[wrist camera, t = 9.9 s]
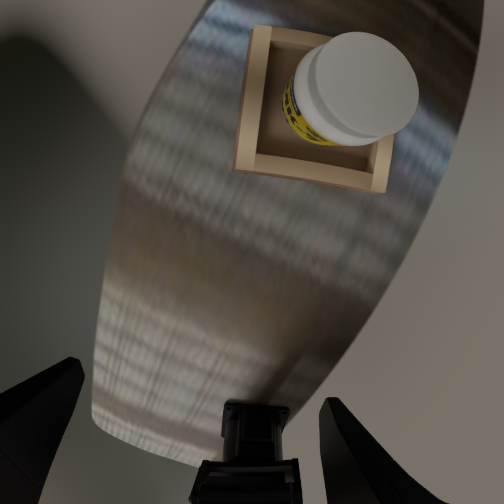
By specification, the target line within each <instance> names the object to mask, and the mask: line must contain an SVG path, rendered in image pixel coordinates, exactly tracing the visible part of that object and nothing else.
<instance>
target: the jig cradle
mask: <svg viewBox="0 0 504 504" xmlns="http://www.w3.org/2000/svg"><path fill="white" fill-rule="evenodd" d="M333 38H334V37H330V36H325V35H321V34H316V33H311V32H306V31H300V30H294V29H288V28H281V27H273V26H264V25H255V26H254V30H252V29H251V31H250V38H249V44H248V51H247V58H246V65H245V72H244V79H243V86H242V93H241V101H240V108H239V116H238V124H237V132H236V140H235V149H234V157H233V166H232V172H239V173H248V174H256V175H264V176H272V177H279V178H286V179H293V180H300V181H306V182H313V183H319V184H324V185H330V186H336V187H341V188H347V189H352V190H357V191H362V192H367V193H372V194H377V195H379V192H380V193H385V191H386V186H387V180H388V174H389V168H390V162H391V156H392V149H393V142H394V134H395V133H394V134H391V135H388V136H384V137H382V138H381V139H379V140H377V141H375V142H373V143H370V144H367V145H362V146H338V145H318V144H313V143H310V142H307V141H305V140H303V139H301V138H300V137H298V136H297V135H296V134H295V133H294V132H293V131H292V130H291V129H290V128H289V126H288V125H287V123H286V122H285V120H284V117H283V114H282V109H281V100H282V95H283V92H284V89H285V87H286V85H287V83H288V82H289V80H290V78H291V76H292V75H293V73H294V71H295V69H296V68H297V66H298V64H299V63H300V61H301V60H302V59H303V57H304V56H305V55H306V54H307V53H308V52H310V51H311V50H313V49H314V48H316V47H318V46H320V45H322V44H325V43H327V42H328V41H330V40H331V39H333Z"/></svg>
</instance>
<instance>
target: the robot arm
mask: <svg viewBox="0 0 504 504" xmlns="http://www.w3.org/2000/svg"><path fill="white" fill-rule="evenodd" d="M84 379H85V374H84V371H83V368H82V364H81V362H80V360H79V359H77V358H74V357H68V358H66V359H64V360H62V361H60V362H59V363H57V364H55V365H53V366H51V367H49V368H47V369H46V370H44V371H42V372H40V373H38V374H36V375H34V376H32V377H30V378H29V379H27V380H25V381H23V382H21V383H19V384H17V385H15V386H14V387H12V388H10V389H8V390H6V391H4V392H3V393H0V504H38V502H39V499H40V496H41V493H42V489H43V487H44V484H45V481H46V478H47V476H48V473H49V470H50V467H51V465H52V462H53V460H54V457H55V454H56V452H57V449H58V447H59V444H60V442H61V439H62V437H63V435H64V432H65V430H66V428H67V425H68V423H69V421H70V419H71V416H72V414H73V412H74V409H75V406H76V403H77V400H78V397H79V394H80V391H81V388H82V385H83V382H84ZM289 413H290V410H289V408H288V407H274V406H259V405H248V404H237V403H225V404H224V410H223V421H222V431H221V436H222V437H223V438H224V447H223V457H222V462H219V461H209V460H203V461H202V464H201V466H200V467H199V470H198V474H197V476H196V480H195V482H194V485H193V488H192V491H191V494H190V496H189V502H190V503H191V504H303V499H302V487H301V479H300V471H299V463H298V458H293V459H292V460H283V452H282V435H281V434H282V432H283V429H284V427H285V424H286V421H287V419H288V416H289ZM319 429H320V455H321V461H322V467H323V475H324V482H325V489H326V496H327V504H449V503H446V502H443V501H442V500H440V499H438V498H437V497H435V496H434V495H433V494H432V493H430V492H429V491H428V490H427V489H425V488H424V487H423V486H422V485H420V484H419V483H418V482H417V481H416V480H414V479H413V478H412V477H411V476H410V475H409V474H408V473H407V472H405V470H404V469H403V468H402V467H401V466H400V465H399V464H398V463H397V462H396V461H395V460H393V458H392V457H391V456H390V455H389V454H388V453H387V451H386V450H385V449H384V448H383V447H382V446H381V445H380V444H379V443H378V442H377V441H376V439H375V438H374V437H373V436H372V435H371V434H370V433H369V432H368V431H367V430H366V428H364V426H363V425H362V424H361V423H360V422H359V421H358V420H357V418H356V417H355V416H354V415H353V414H352V413H351V412H350V411H349V410H348V409H347V407H346V406H345V405H344V404H343V403H342V402H341V400H340V399H339V398H337V397H328V398H326V399H325V401H324V403H323V405H322V408H321V410H320V413H319Z"/></svg>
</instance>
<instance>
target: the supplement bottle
mask: <svg viewBox="0 0 504 504" xmlns="http://www.w3.org/2000/svg"><path fill="white" fill-rule="evenodd" d="M418 100H419V89H418V83H417V79H416V76H415V73H414V71H413V69H412V67H411V65H410V63H409V62H408V60H407V59H406V58H405V56H404V55H403V54H402V53H401V52H400V51H399V50H398V49H397V48H396V47H395V46H393V45H392V44H391V43H389V42H388V41H386V40H384V39H382V38H381V37H378V36H376V35H373V34H369V33H364V32H349V33H344V34H341V35H338V36H336V37H334V38H333V39H331V40H330V41H328V42H327V43H325V44H322V45H320V46H318V47H316V48H314V49H313V50H311V51H310V52H308V53H307V54H306V55H305V56H304V57H303V59H302V60H301V61H300V63H299V64H298V66H297V68H296V69H295V71H294V73H293V75H292V76H291V78H290V80H289V82H288V83H287V85H286V87H285V89H284V92H283V95H282V100H281V109H282V114H283V117H284V120H285V122H286V123H287V125H288V126H289V128H290V129H291V130H292V131H293V132H294V133H295V134H296V135H297V136H298V137H300V138H301V139H303V140H305V141H307V142H310V143H313V144H318V145H338V146H362V145H367V144H370V143H373V142H375V141H377V140H379V139H381V138H382V137H384V136H388V135H391V134H394V133H396V132H398V131H400V130H401V129H403V128H404V127H405V126H406V125H407V124H408V123H409V122H410V121H411V119H412V118H413V116H414V114H415V112H416V109H417V106H418Z"/></svg>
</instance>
